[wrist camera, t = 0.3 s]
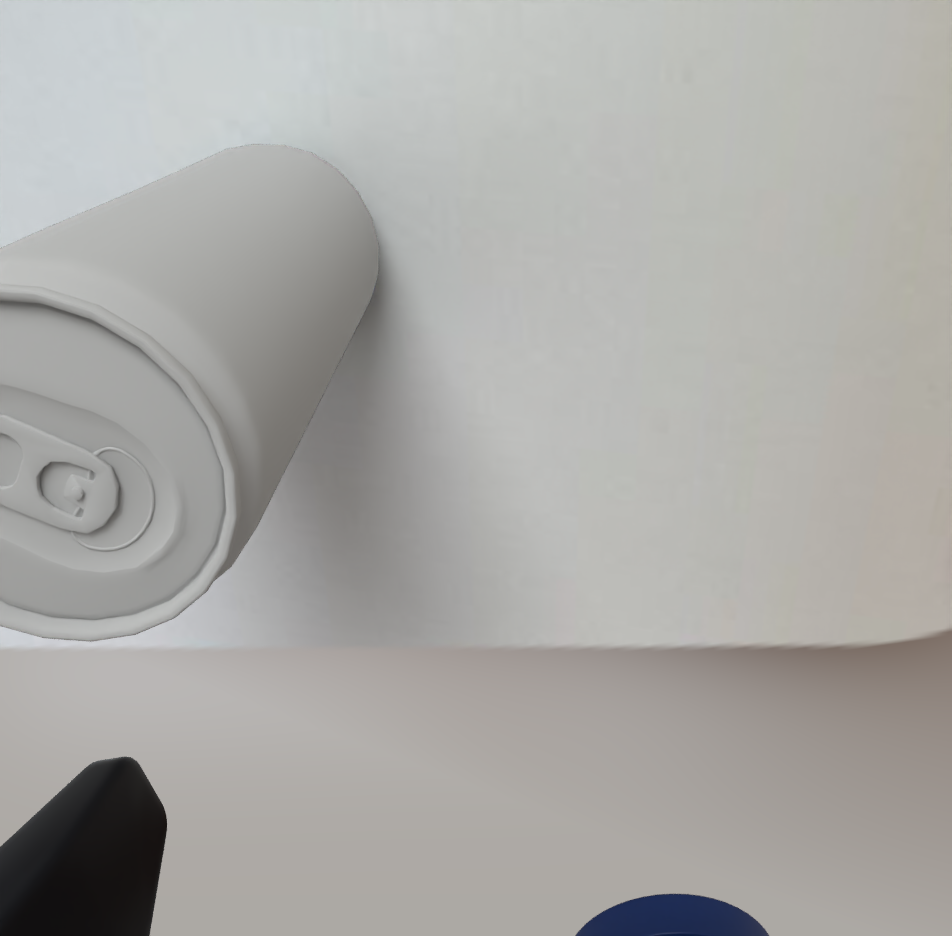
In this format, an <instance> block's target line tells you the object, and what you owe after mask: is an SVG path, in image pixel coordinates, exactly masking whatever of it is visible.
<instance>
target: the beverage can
mask: <svg viewBox="0 0 952 936" xmlns="http://www.w3.org/2000/svg"><path fill="white" fill-rule="evenodd" d="M378 273H379V243H378V240H377V236H376V232H375V228H374V224H373V220H372V217H371V215H370V213H369V211H368V209H367V207H366V205H365V204H364V202H363V200H362V198H361V196H360V194H359V192H358V191H357V190H356V189H355V188H354V186H353V185H352V184H351V183H350V182H349V181H348V180H347V179H346V178H345V177H344V175H343V174H342V173H341V172H340V171H339V170H338V169H337V168H335V167H334V166H332V165H331V164H329V163H327V162H326V161H324V160H323V159H321V158H320V157H318V156H316V155H315V154H313V153H311V152H308V151H304V150H300V149H297V148H293V147H289V146H286V145H270V144H251V145H245V146H240V147H234V148H229V149H225V150H223V151H221V152H219V153H216V154H214V155H212V156H210V157H208V158H205V159H203V160H201V161H199V162H197V163H194V164H192V165H190V166H188V167H186V168H183V169H181V170H179V171H177V172H175V173H172V174H170V175H168V176H166V177H164V178H161V179H159V180H157V181H155V182H152V183H150V184H148V185H146V186H143V187H141V188H139V189H137V190H134V191H132V192H130V193H127V194H125V195H123V196H120V197H118V198H116V199H113V200H111V201H108V202H106V203H104V204H101V205H99V206H97V207H94V208H92V209H90V210H87V211H85V212H82V213H80V214H78V215H75V216H73V217H71V218H68V219H66V220H63V221H61V222H59V223H56V224H54V225H52V226H49V227H47V228H45V229H43V230H40V231H38V232H36V233H33V234H31V235H29V236H27V237H24V238H22V239H20V240H17V241H15V242H13V243H11V244H8V245H6V246H4V247H2V248H0V626H2V627H6V628H10V629H13V630H17V631H21V632H24V633H28V634H31V635H35V636H39V637H42V638H50V639H64V640H78V641H98V640H104V639H111V638H117V637H124V636H130V635H136V634H138V633H140V632H143V631H145V630H148V629H150V628H152V627H155V626H157V625H159V624H162V623H164V622H166V621H169V620H171V619H174V618H175V617H177V616H178V615H179V614H180V613H181V612H183V611H184V610H185V609H186V608H187V607H189V606H190V605H191V604H192V603H194V602H195V601H196V600H197V599H198V598H200V597H201V596H202V595H203V594H204V593H206V592H207V591H208V589H209V587H210V586H211V584H212V583H213V581H215V580H216V579H217V578H218V577H219V576H221V575H222V574H223V573H224V572H225V571H227V570H228V569H229V568H230V567H231V566H232V565H233V563H234V562H235V560H236V559H237V557H238V556H239V554H240V552H241V551H242V549H243V548H244V546H245V545H246V543H247V542H248V540H249V538H250V537H251V535H252V534H253V532H254V531H255V529H256V527H257V526H258V524H259V522H260V520H261V518H262V516H263V514H264V512H265V510H266V508H267V506H268V504H269V502H270V500H271V498H272V496H273V494H274V492H275V490H276V488H277V486H278V484H279V482H280V480H281V478H282V476H283V474H284V472H285V470H286V468H287V466H288V464H289V462H290V460H291V458H292V456H293V454H294V452H295V450H296V448H297V446H298V444H299V442H300V440H301V438H302V436H303V434H304V432H305V430H306V428H307V426H308V424H309V422H310V420H311V418H312V416H313V414H314V412H315V410H316V408H317V406H318V404H319V402H320V400H321V398H322V396H323V394H324V392H325V390H326V388H327V386H328V384H329V382H330V380H331V378H332V376H333V374H334V372H335V370H336V368H337V366H338V364H339V362H340V360H341V358H342V356H343V354H344V352H345V350H346V348H347V346H348V344H349V342H350V340H351V338H352V336H353V334H354V332H355V330H356V328H357V326H358V324H359V322H360V320H361V318H362V316H363V314H364V312H365V310H366V308H367V306H368V304H369V302H370V300H371V298H372V294H373V291H374V287H375V284H376V280H377V277H378Z"/></svg>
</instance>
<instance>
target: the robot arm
mask: <svg viewBox="0 0 952 936" xmlns="http://www.w3.org/2000/svg"><path fill="white" fill-rule="evenodd" d="M166 831H167V819H166V813H165V810H164V807H163V805H162V803H161V801H160V799H159V798H158V796H157V794H156V793H155V791H154V789H153V787H152V786H151V784H150V782H149V780H148V779H147V777H146V775H145V774H144V772H143V770H142V768H141V767H140V765H139V764H138V762H137V761H135V760H134V759H133V758H131V757H119V758H113V759H107V760H100V761H96V762H93V763H92V764H90V765H89V766H88V767H86V768H85V769H84V770H83V771H82V772H81V773H80V774H78V775H77V776H76V777H75V778H74V779H73V780H72V781H71V782H70V783H69V784H68V785H67V786H66V787H65V788H63V789H62V790H61V791H60V792H59V793H58V794H57V795H56V796H55V797H54V798H53V799H51V801H49V802H48V803H47V804H46V805H45V806H44V807H43V808H42V809H41V810H40V811H39V812H37V814H36V815H34V816H33V817H32V818H31V819H30V820H29V821H28V822H27V823H26V824H25V825H23V826H22V827H21V828H20V829H19V830H18V831H17V832H16V833H15V834H14V835H13V836H12V837H11V838H9V840H7V841H6V842H5V843H4V844H3V845H2V846H1V847H0V936H149V935H150V928H151V923H152V917H153V911H154V904H155V899H156V893H157V887H158V880H159V874H160V869H161V862H162V857H163V851H164V844H165V838H166Z"/></svg>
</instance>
